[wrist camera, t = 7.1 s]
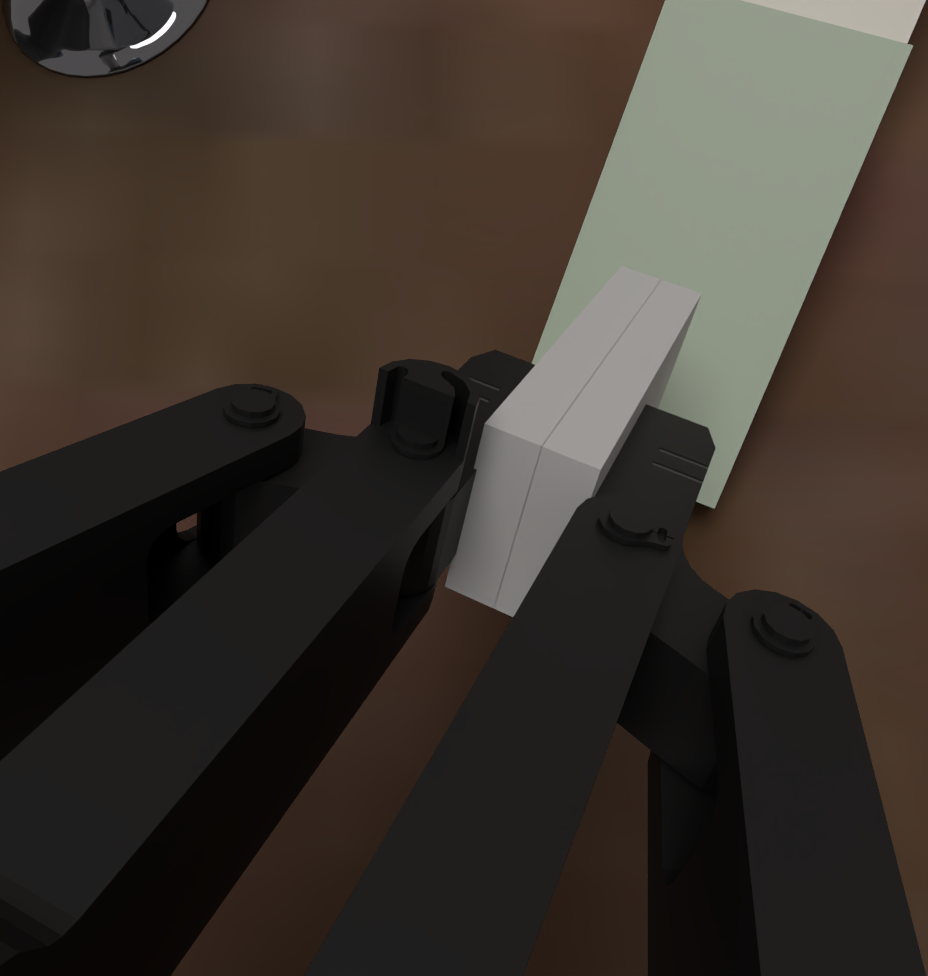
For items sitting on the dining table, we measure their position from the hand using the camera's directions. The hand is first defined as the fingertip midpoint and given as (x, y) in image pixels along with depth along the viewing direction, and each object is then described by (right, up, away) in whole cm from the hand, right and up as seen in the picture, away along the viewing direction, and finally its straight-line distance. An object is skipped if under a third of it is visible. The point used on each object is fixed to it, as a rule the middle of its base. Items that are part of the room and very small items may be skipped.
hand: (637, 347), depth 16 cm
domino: (0, -2, +5) cm, 5 cm away
